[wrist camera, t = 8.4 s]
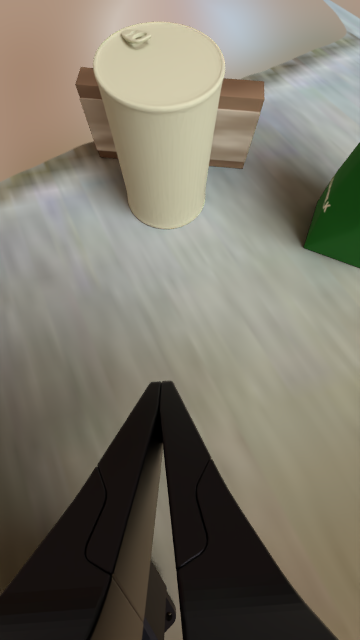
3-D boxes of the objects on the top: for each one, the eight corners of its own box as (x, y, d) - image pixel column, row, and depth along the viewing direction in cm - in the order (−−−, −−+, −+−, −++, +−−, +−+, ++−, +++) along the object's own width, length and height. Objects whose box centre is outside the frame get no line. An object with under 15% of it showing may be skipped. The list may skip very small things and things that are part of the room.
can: (171, 155, 28) (168, -6, 16) (220, 201, 26) (256, 58, 14) (112, 192, 26) (61, 43, 14) (161, 244, 24) (146, 121, 13)
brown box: (242, 169, 27) (264, 100, 20) (100, 158, 27) (75, 85, 21) (242, 153, 28) (263, 81, 21) (103, 142, 28) (80, 67, 21)
